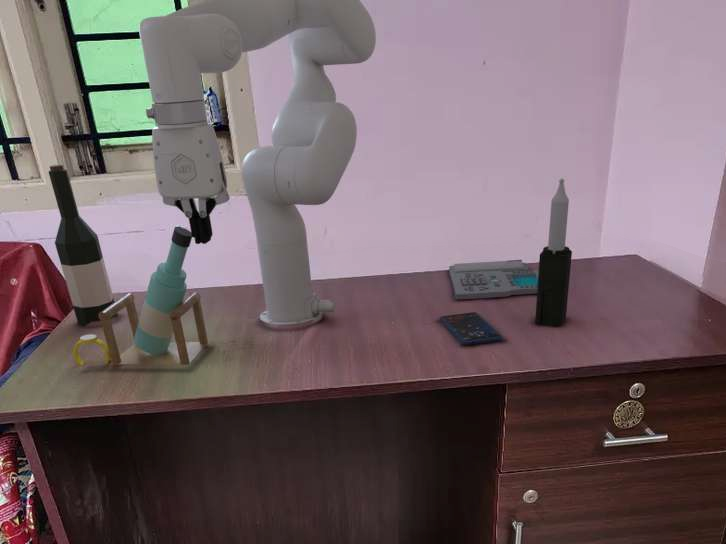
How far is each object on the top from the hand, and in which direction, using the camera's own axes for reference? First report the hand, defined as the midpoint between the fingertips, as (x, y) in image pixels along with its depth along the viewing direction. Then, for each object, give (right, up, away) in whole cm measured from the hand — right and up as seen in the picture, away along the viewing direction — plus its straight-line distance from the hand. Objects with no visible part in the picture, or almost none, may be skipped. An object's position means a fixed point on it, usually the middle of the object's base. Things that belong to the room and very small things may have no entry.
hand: (203, 241), depth 117 cm
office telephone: (+55, +6, +41) cm, 69 cm away
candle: (+61, -9, +18) cm, 65 cm away
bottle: (-8, -16, +12) cm, 21 cm away
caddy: (-11, -17, +13) cm, 24 cm away
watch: (-22, -19, +11) cm, 31 cm away
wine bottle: (-30, -5, +34) cm, 46 cm away
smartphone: (+46, -11, +16) cm, 50 cm away
